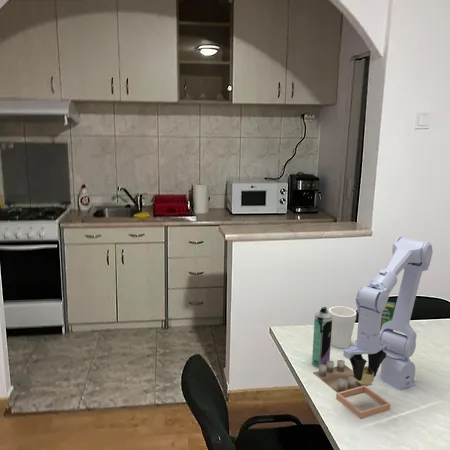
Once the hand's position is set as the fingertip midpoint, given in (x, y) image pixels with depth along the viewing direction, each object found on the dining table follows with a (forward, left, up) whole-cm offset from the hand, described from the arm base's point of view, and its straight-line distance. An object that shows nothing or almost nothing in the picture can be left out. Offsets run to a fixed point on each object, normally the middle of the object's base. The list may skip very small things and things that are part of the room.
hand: (364, 376), depth 126 cm
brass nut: (0, 0, -1) cm, 1 cm away
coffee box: (+33, -38, -9) cm, 50 cm away
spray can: (+23, -3, -9) cm, 25 cm away
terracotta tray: (0, 0, -9) cm, 9 cm away
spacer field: (+13, -3, -9) cm, 16 cm away
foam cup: (+32, -18, -9) cm, 37 cm away
